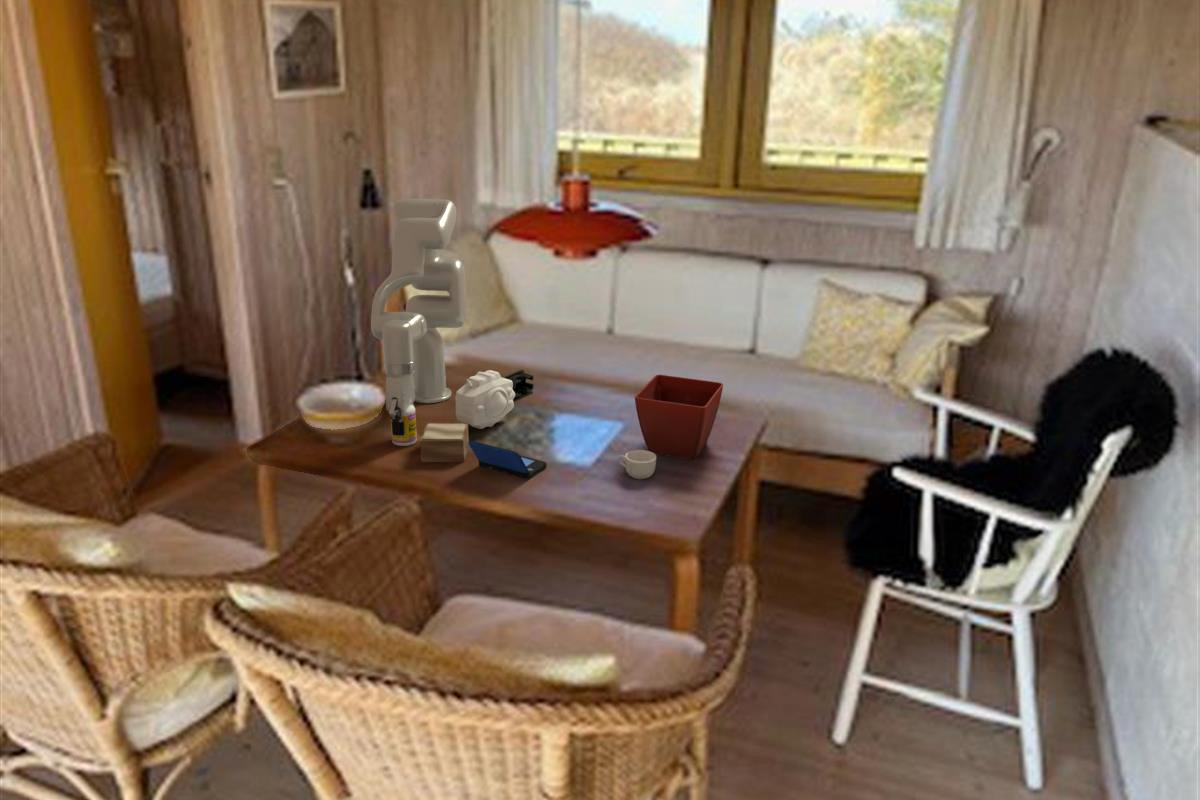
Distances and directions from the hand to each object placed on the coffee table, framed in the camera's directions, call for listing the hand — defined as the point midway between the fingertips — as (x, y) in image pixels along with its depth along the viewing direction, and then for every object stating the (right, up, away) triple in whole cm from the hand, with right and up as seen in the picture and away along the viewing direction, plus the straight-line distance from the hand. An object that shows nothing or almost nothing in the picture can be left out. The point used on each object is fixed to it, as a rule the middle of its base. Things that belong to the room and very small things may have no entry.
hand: (403, 428), depth 248 cm
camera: (+21, 0, +13) cm, 25 cm away
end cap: (+27, +9, +36) cm, 45 cm away
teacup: (+62, -11, -15) cm, 65 cm away
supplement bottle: (0, -4, +2) cm, 4 cm away
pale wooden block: (+12, -6, -5) cm, 14 cm away
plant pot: (+73, -5, 0) cm, 74 cm away
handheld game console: (+30, -10, -13) cm, 34 cm away
